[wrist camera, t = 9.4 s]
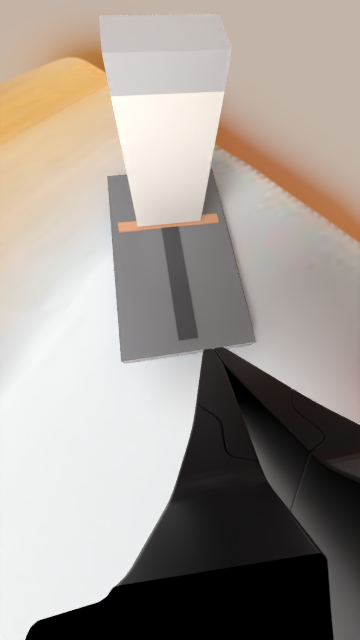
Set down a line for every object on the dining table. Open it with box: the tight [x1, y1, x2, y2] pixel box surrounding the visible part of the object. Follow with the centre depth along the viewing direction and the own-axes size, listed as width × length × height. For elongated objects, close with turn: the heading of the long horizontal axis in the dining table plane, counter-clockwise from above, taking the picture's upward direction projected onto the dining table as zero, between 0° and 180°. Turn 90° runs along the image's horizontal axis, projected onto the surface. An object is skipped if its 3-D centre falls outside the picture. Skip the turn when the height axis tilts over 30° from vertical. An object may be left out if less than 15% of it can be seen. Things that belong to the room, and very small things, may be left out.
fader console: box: [107, 169, 256, 363], centre depth 21 cm, size 19×11×2 cm, turn 9°
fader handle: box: [99, 14, 232, 227], centre depth 15 cm, size 3×6×11 cm, turn 99°
